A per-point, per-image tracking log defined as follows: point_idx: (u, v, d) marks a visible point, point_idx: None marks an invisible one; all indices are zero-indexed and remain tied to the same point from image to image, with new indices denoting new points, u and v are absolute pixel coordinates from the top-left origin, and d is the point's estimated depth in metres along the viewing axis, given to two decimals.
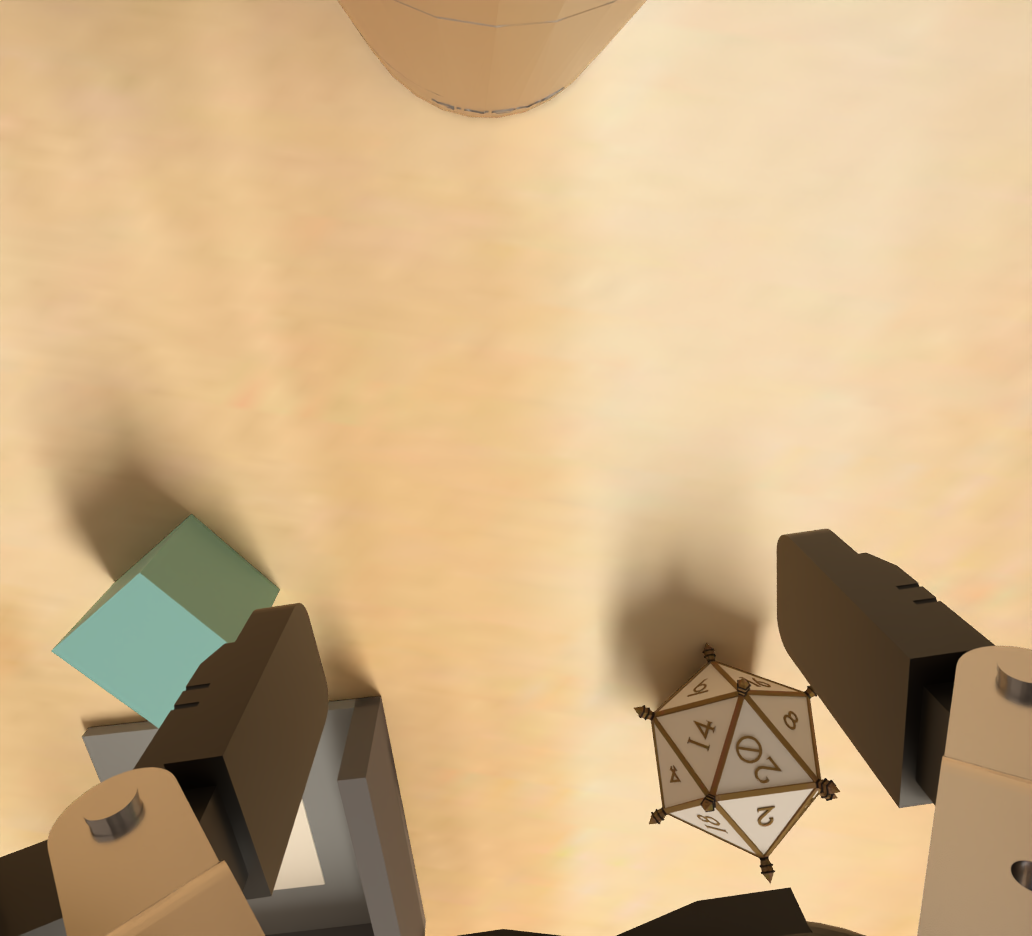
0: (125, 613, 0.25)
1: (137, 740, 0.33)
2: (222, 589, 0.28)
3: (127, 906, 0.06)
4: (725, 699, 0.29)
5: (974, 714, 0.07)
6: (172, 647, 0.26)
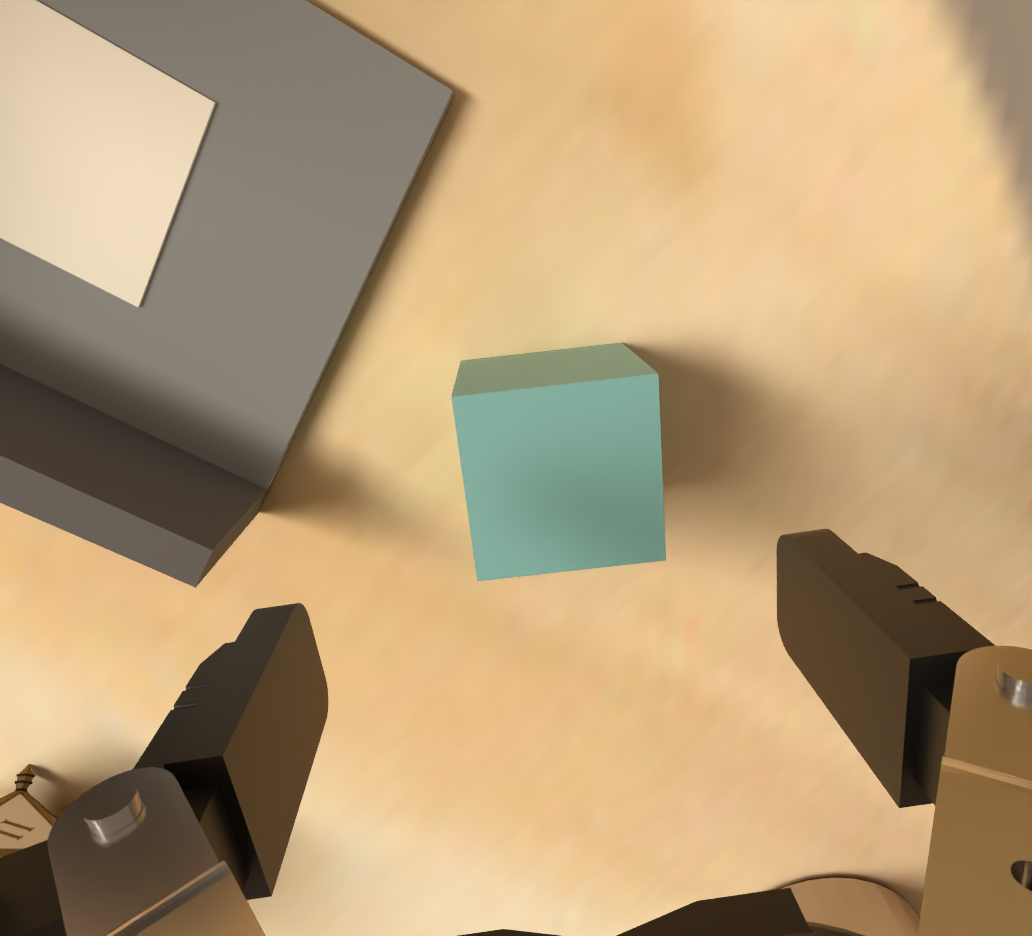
0: (634, 502, 0.18)
1: (393, 166, 0.19)
2: None
3: (127, 906, 0.06)
4: None
5: (974, 714, 0.07)
6: (552, 515, 0.18)
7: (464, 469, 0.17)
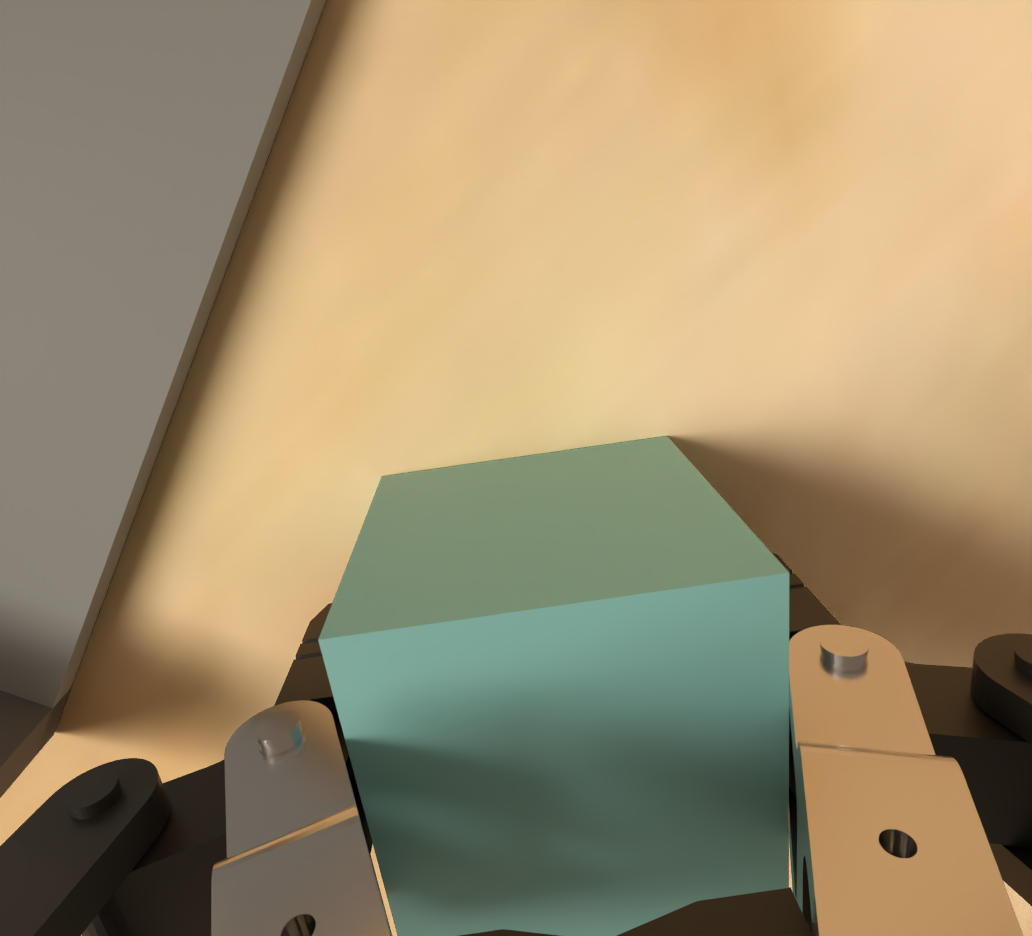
0: (727, 819, 0.08)
1: (217, 128, 0.09)
2: None
3: (318, 808, 0.07)
4: None
5: (789, 684, 0.07)
6: (555, 850, 0.08)
7: (360, 779, 0.08)
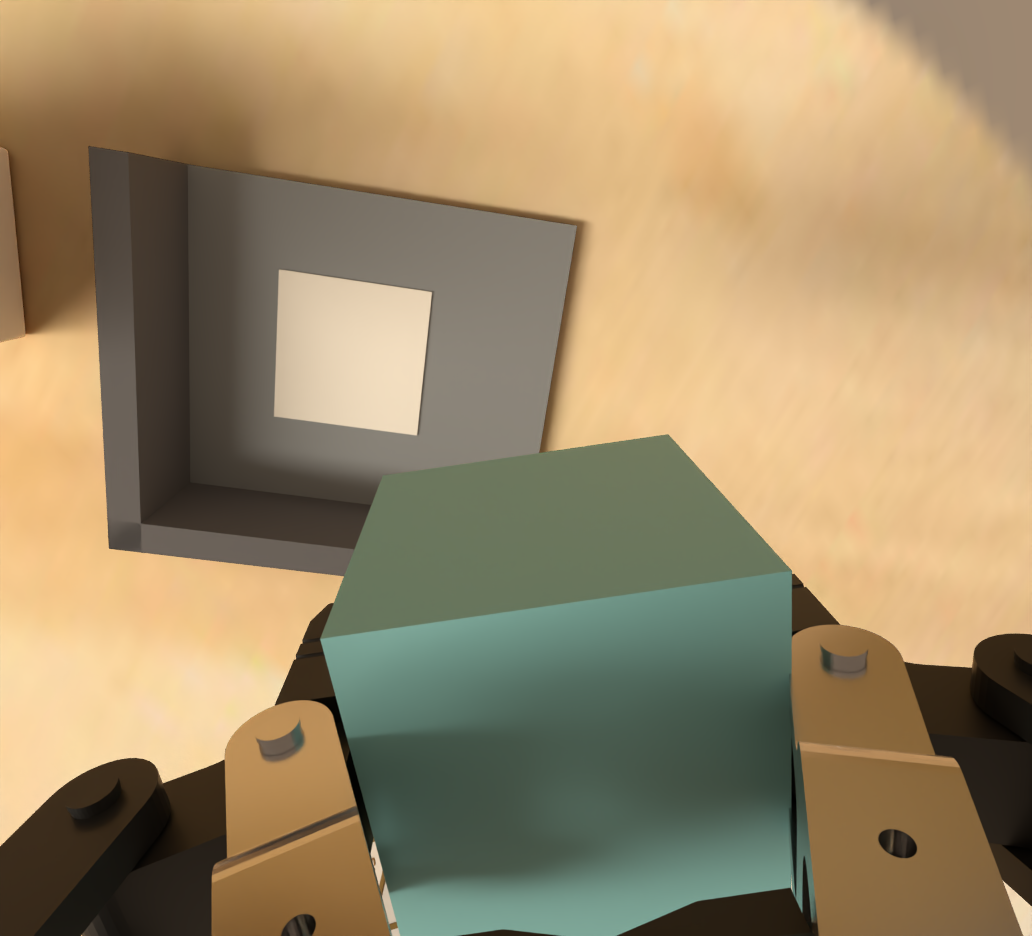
0: (730, 817, 0.08)
1: (552, 287, 0.28)
2: None
3: (318, 808, 0.07)
4: None
5: (789, 684, 0.07)
6: (558, 850, 0.08)
7: (363, 778, 0.08)
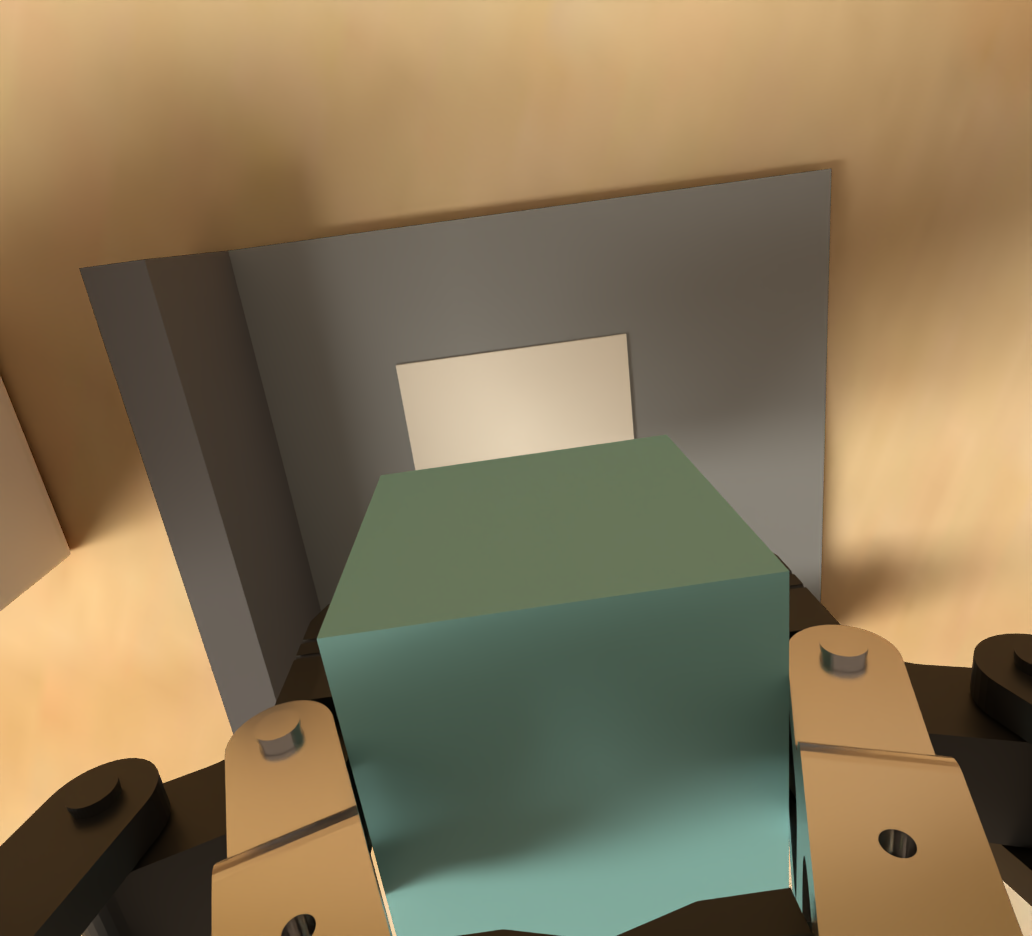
0: (727, 818, 0.08)
1: (807, 274, 0.18)
2: None
3: (318, 808, 0.07)
4: None
5: (789, 683, 0.07)
6: (554, 850, 0.08)
7: (359, 779, 0.08)
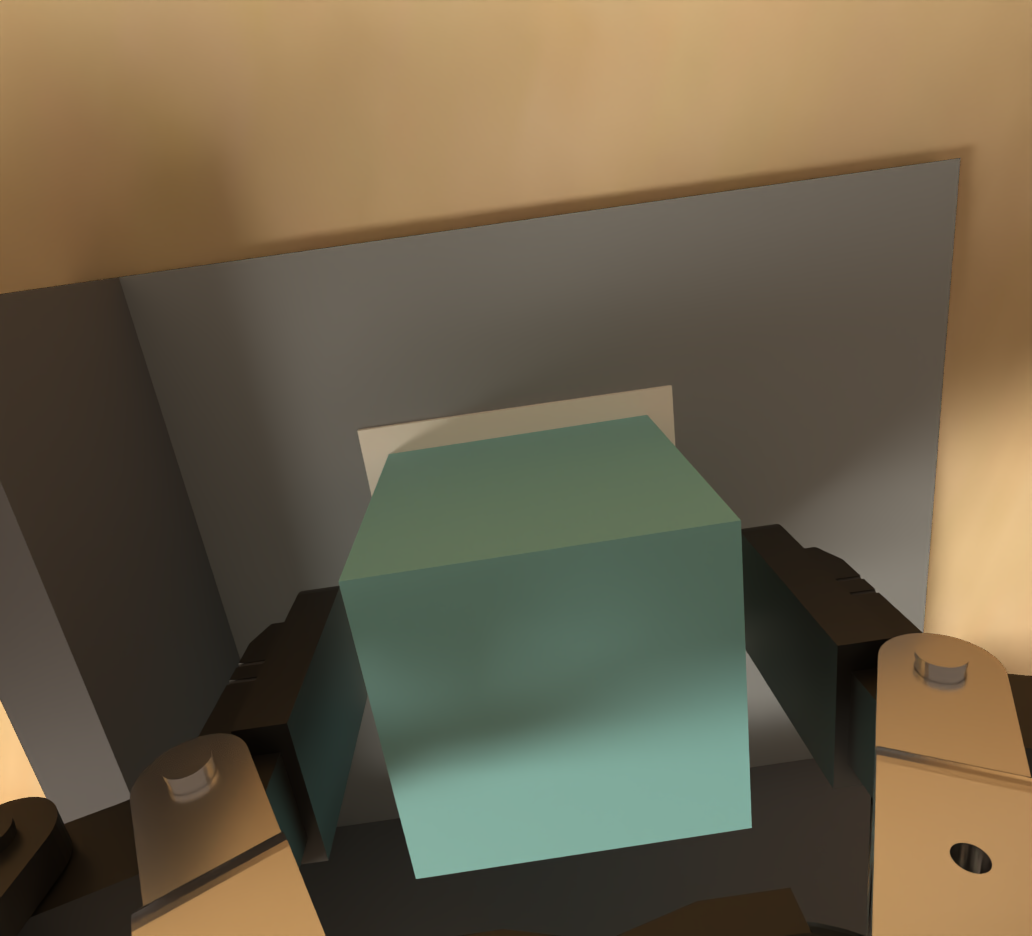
0: (694, 741, 0.10)
1: (919, 303, 0.13)
2: None
3: (215, 856, 0.06)
4: None
5: (888, 696, 0.07)
6: (545, 771, 0.10)
7: (375, 706, 0.09)
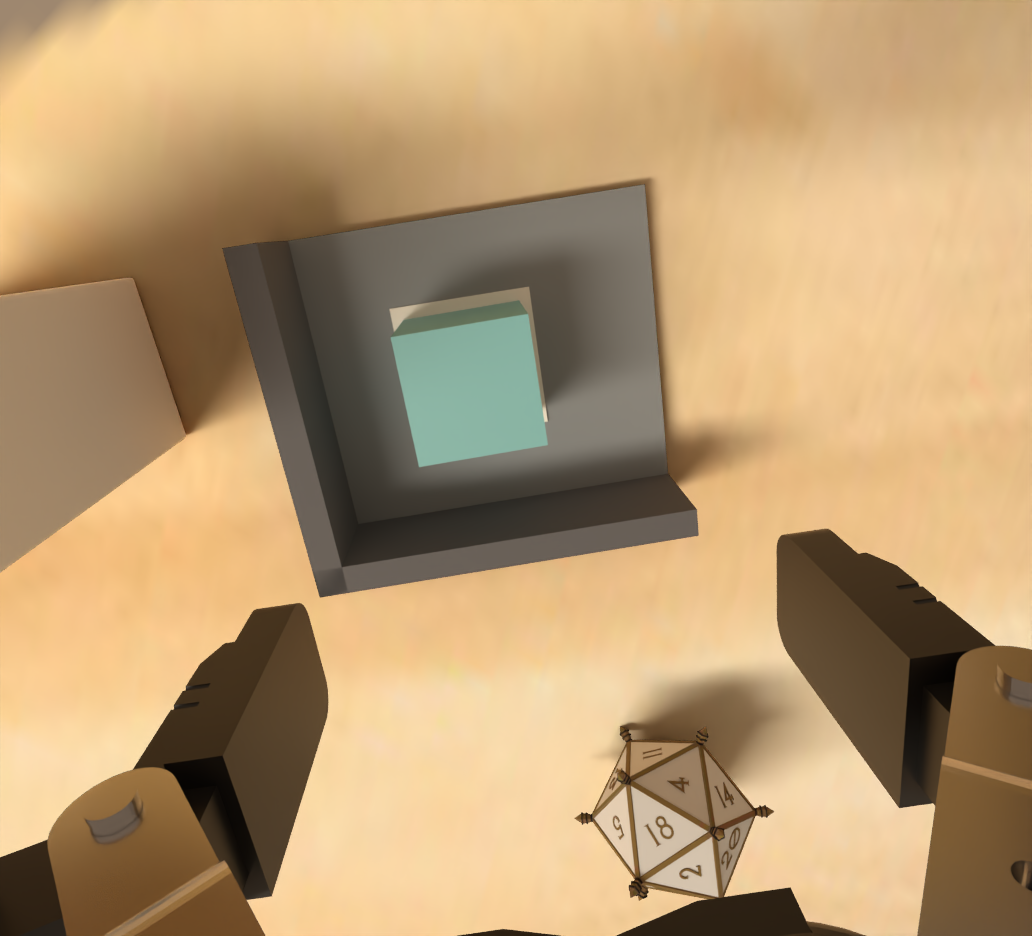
0: (521, 404, 0.26)
1: (636, 247, 0.29)
2: None
3: (127, 906, 0.06)
4: (745, 801, 0.34)
5: (974, 714, 0.07)
6: (466, 417, 0.26)
7: (403, 387, 0.25)
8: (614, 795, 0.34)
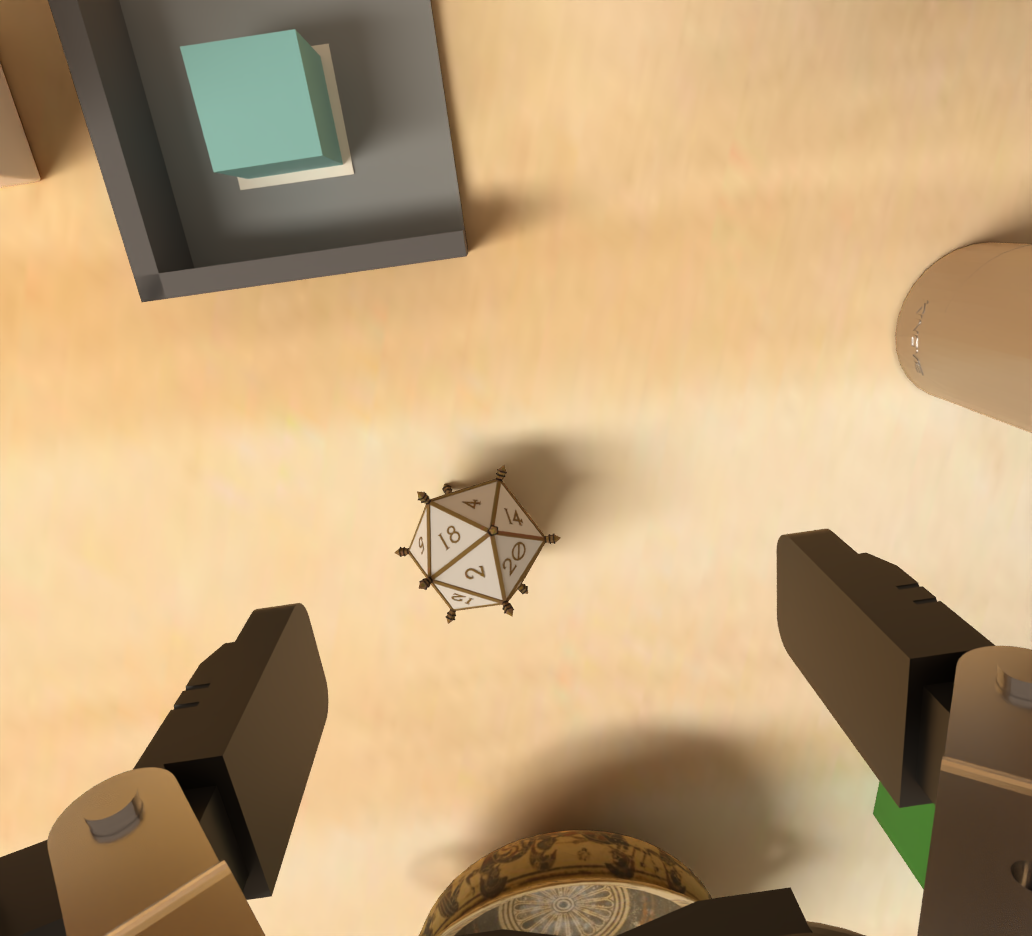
0: (296, 115, 0.31)
1: (420, 10, 0.34)
2: (274, 168, 0.33)
3: (127, 906, 0.06)
4: (536, 528, 0.39)
5: (974, 714, 0.07)
6: (250, 125, 0.31)
7: (193, 94, 0.30)
8: (420, 519, 0.39)
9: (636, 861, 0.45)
